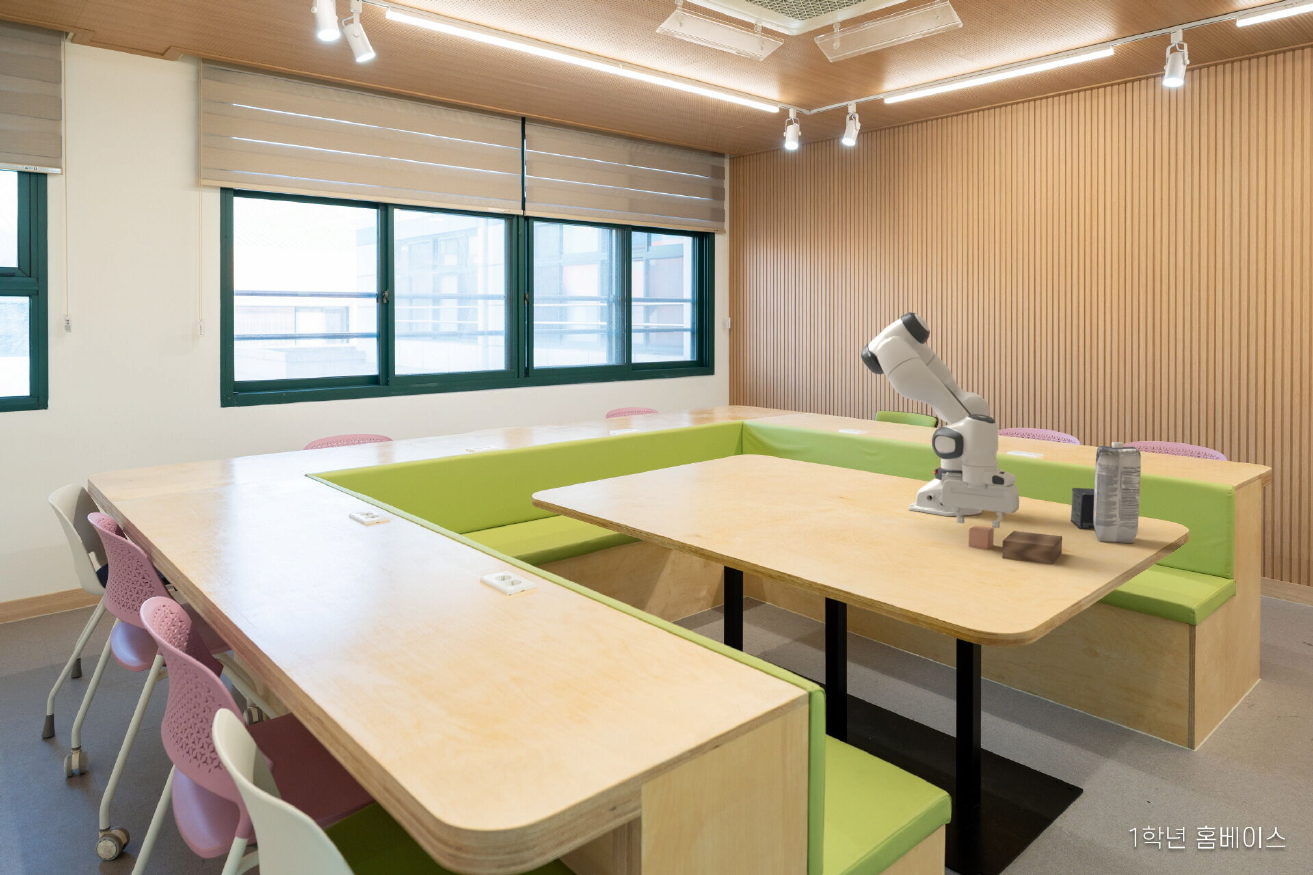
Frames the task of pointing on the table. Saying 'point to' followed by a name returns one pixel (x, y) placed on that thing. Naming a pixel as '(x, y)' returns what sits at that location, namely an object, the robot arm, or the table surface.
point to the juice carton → (1117, 493)
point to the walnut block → (1032, 547)
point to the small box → (1083, 508)
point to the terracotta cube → (981, 537)
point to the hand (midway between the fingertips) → (978, 525)
